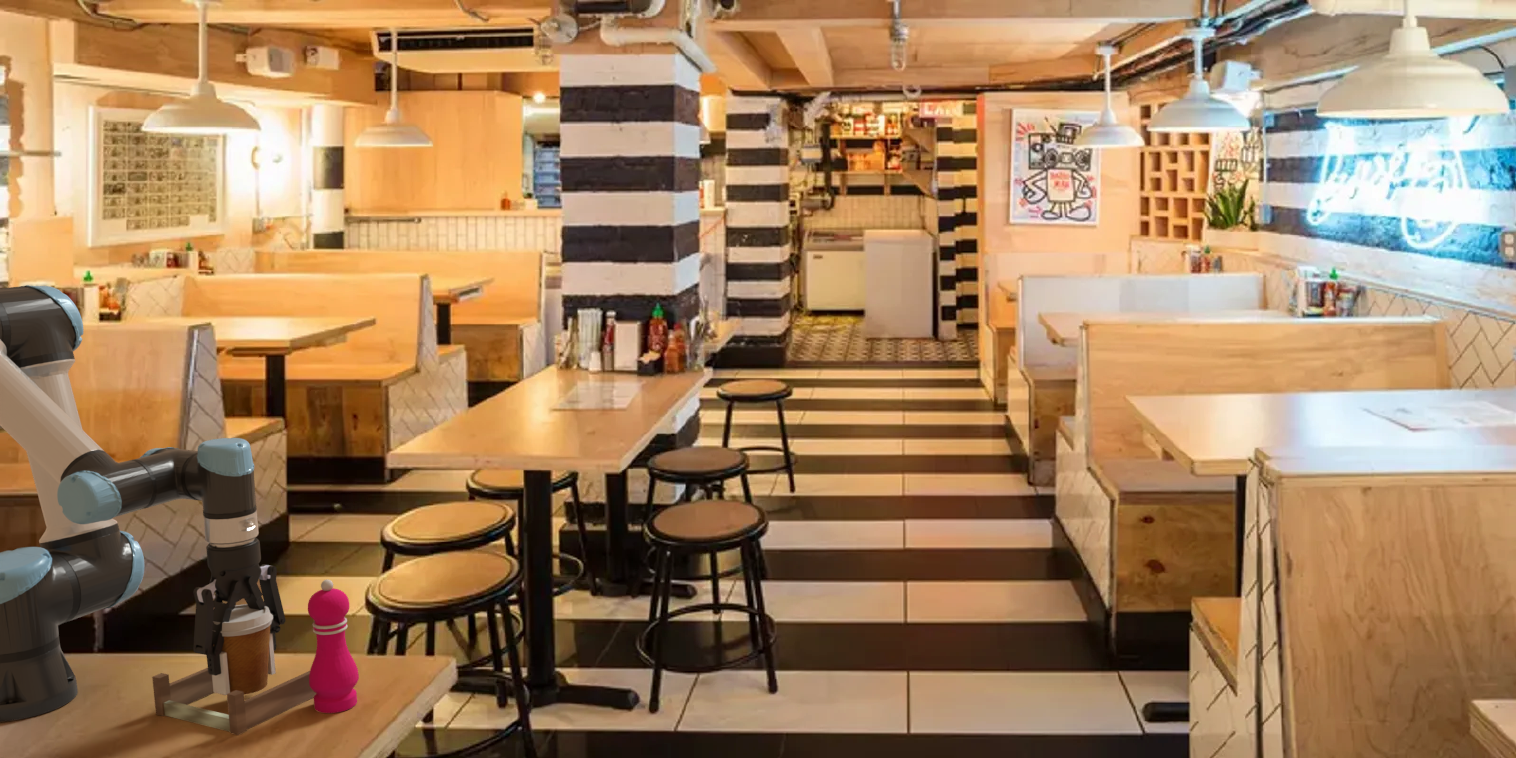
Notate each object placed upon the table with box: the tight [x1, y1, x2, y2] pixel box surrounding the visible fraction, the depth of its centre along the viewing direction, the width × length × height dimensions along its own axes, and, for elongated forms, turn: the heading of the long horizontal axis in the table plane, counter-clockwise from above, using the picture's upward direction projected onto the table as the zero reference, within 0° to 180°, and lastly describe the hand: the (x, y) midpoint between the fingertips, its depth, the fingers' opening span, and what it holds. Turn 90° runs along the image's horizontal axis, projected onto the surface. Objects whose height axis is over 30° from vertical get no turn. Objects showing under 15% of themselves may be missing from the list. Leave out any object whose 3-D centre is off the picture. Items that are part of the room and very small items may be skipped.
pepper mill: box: [307, 579, 360, 714], centre depth 192 cm, size 7×7×20 cm
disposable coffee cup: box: [213, 603, 273, 696], centre depth 194 cm, size 10×10×12 cm
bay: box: [151, 667, 317, 736], centre depth 196 cm, size 18×20×6 cm
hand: (245, 682), depth 195 cm, fingers closed on disposable coffee cup, 8 cm apart
